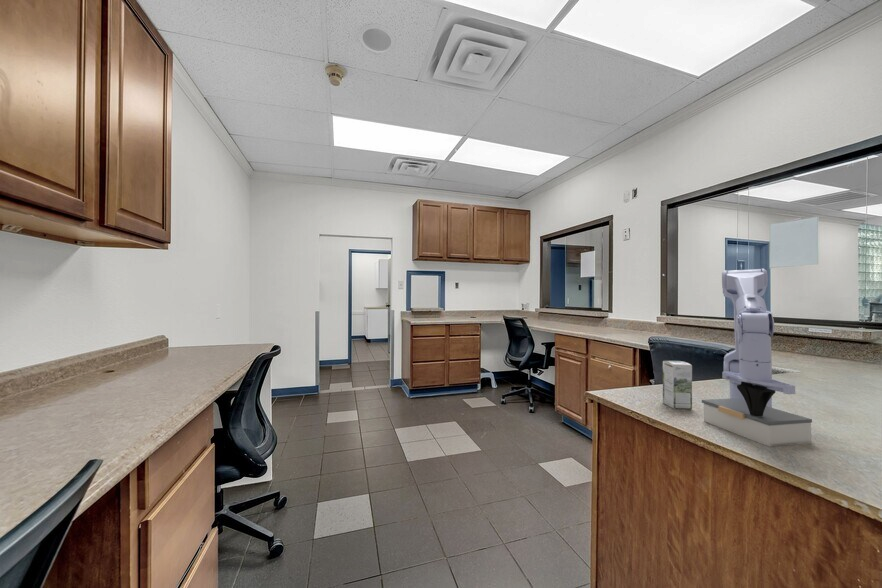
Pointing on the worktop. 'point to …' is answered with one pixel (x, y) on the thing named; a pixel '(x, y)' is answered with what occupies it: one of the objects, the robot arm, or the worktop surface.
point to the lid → (741, 411)
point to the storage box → (760, 429)
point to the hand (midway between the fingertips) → (756, 415)
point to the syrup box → (677, 384)
